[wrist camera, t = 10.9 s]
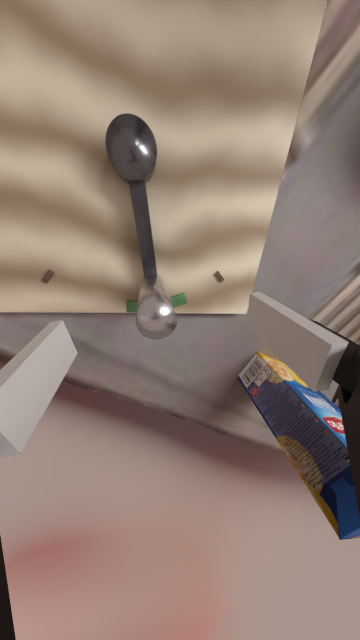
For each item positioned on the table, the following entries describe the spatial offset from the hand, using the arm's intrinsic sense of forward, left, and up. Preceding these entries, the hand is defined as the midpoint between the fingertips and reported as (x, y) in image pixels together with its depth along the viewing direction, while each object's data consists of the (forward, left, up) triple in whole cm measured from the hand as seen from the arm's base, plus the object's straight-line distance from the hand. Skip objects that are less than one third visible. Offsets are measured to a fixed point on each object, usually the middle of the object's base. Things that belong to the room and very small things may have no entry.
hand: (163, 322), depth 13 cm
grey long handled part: (-6, -1, -12) cm, 14 cm away
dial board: (-12, -2, -14) cm, 19 cm away
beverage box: (+19, +24, -14) cm, 33 cm away
